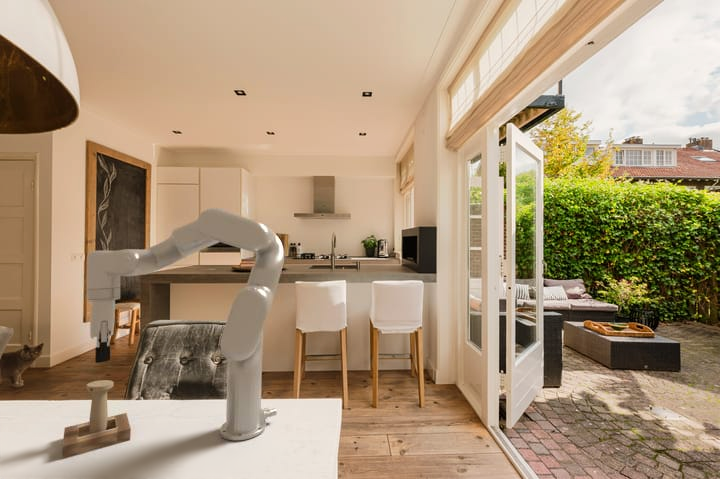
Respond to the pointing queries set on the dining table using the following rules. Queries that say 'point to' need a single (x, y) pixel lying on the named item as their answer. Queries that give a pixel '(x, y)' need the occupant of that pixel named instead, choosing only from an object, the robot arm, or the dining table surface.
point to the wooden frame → (95, 436)
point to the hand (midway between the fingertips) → (102, 361)
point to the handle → (99, 405)
